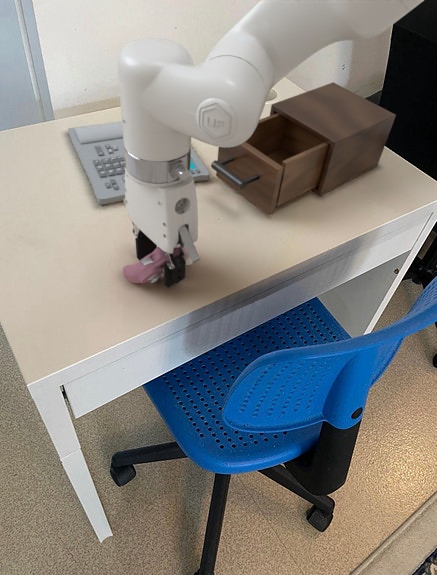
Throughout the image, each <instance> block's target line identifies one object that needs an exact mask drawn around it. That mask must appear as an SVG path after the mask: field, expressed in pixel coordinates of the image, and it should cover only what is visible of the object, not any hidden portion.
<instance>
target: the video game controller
mask: <svg viewBox="0 0 437 575" xmlns="http://www.w3.org/2000/svg"><path fill="white" fill-rule="evenodd" d="M172 254H173V258H174V257H176V256H178V255H180V253H179V249H176V250H174V251H173V253H172ZM165 264H167V262H166V258H165V254H164V251H163V250H162V249H161V248H159V247H158V246H157V248H156V249H155V250H154V251H153V252H152V253H151V254H149V255H147V256H146V257H144V258H143V259H141V260H138V261H137V262H135V263H134V264H126V265H124V266H123V268H122V274H123V276H124V278H125V279H126V280H127V281H128V282H130V283H133V284H146V283H148V282H149V283H155V282H157V281H158V280H159V278H160V277H162V275H164V265H165Z"/></svg>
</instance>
